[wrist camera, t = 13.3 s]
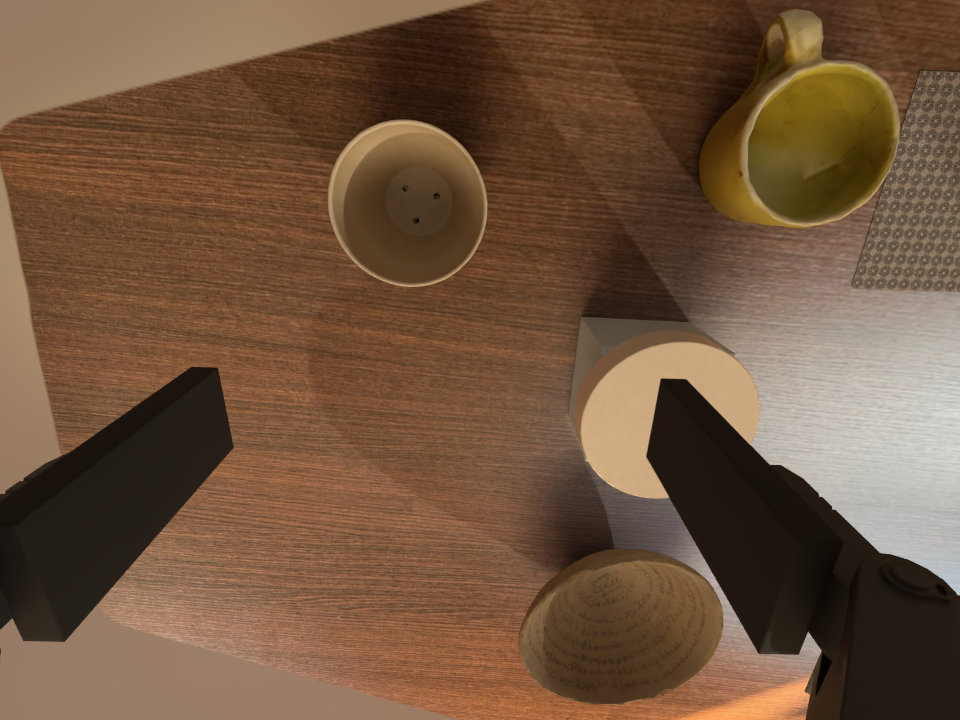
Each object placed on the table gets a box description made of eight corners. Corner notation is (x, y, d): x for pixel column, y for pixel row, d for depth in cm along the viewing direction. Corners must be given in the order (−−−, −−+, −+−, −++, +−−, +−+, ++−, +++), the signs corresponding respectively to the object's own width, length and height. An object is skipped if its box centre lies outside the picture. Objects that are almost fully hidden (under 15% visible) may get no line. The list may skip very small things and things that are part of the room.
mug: (843, 230, 35) (913, 217, 26) (693, 240, 39) (707, 231, 29) (858, 50, 33) (940, -35, 24) (697, 76, 37) (715, 12, 27)
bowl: (685, 630, 53) (720, 704, 45) (520, 643, 53) (527, 719, 46) (693, 491, 46) (734, 552, 39) (504, 509, 47) (509, 573, 39)
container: (580, 316, 40) (602, 347, 33) (690, 321, 40) (735, 353, 33) (567, 414, 43) (585, 461, 36) (668, 419, 43) (705, 466, 36)
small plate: (585, 325, 32) (593, 336, 30) (761, 334, 32) (782, 346, 30) (565, 475, 36) (570, 495, 34) (720, 482, 37) (735, 502, 34)
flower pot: (359, 265, 38) (334, 284, 32) (351, 127, 35) (320, 116, 28) (483, 269, 38) (484, 289, 32) (488, 132, 35) (490, 122, 28)
